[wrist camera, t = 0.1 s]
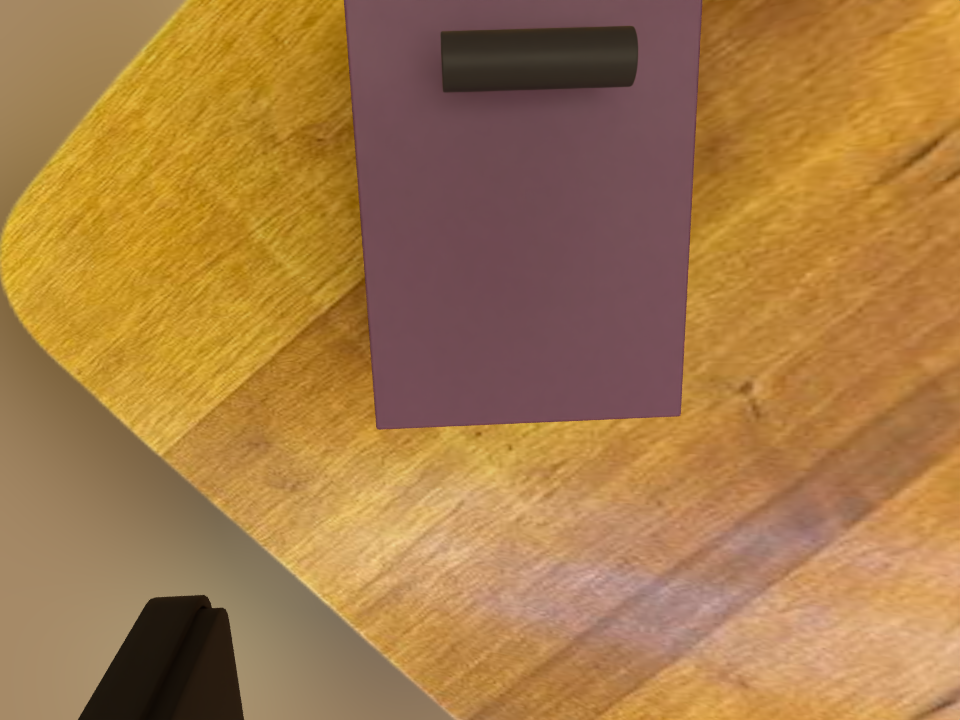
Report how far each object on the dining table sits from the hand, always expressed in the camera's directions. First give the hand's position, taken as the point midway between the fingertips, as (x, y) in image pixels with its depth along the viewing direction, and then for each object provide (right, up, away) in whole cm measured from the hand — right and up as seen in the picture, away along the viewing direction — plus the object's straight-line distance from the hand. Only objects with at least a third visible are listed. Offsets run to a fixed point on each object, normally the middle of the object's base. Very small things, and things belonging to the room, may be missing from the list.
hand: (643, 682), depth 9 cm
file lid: (0, +9, +22) cm, 24 cm away
